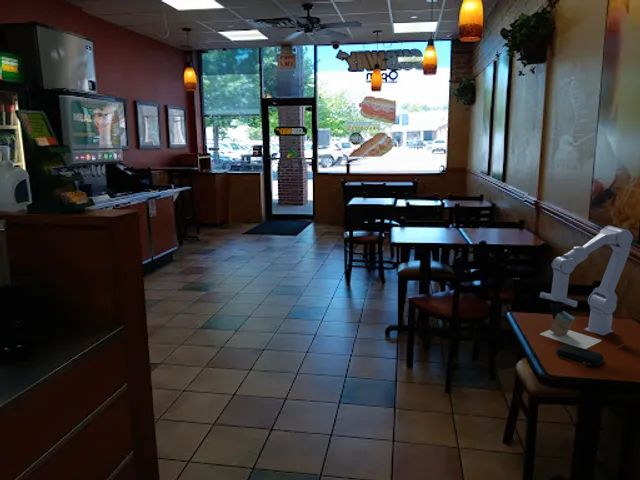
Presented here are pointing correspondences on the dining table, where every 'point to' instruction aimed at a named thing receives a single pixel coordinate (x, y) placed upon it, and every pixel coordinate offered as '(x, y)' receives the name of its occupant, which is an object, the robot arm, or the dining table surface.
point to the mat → (573, 339)
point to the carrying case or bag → (580, 355)
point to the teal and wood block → (561, 323)
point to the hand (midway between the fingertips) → (555, 318)
